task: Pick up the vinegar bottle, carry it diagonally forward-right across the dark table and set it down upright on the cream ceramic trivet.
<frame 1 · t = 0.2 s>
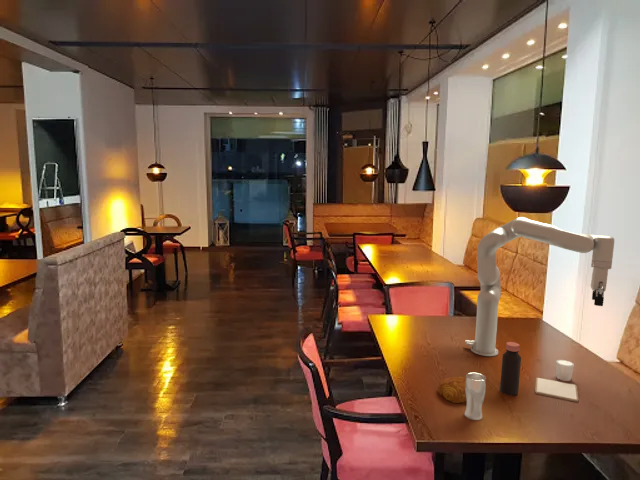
hand: (597, 302, 205), 31 cm above the table, fingers open, 9 cm apart
trivet: (556, 389, 190), on the table
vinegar: (508, 392, 188), on the table
short white cylinder: (563, 378, 202), on the table
croissant: (457, 395, 185), on the table
beer glass: (473, 416, 169), on the table
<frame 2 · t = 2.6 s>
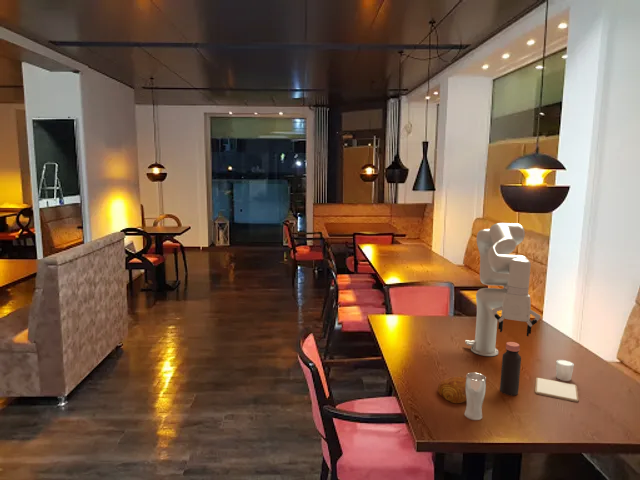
hand: (514, 333, 184), 24 cm above the table, fingers open, 9 cm apart
nothing on the table moved.
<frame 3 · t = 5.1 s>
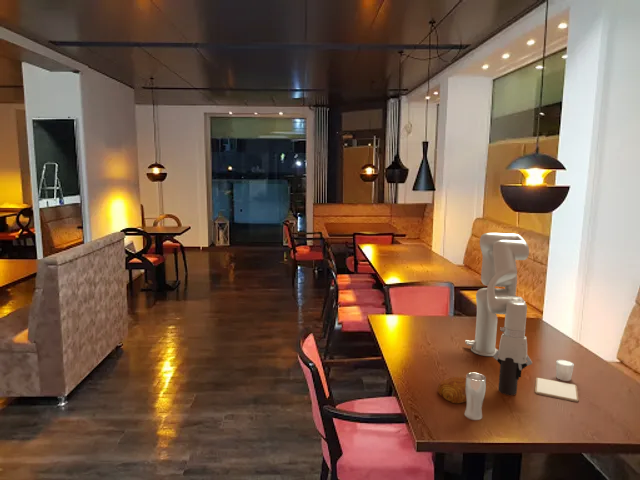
hand: (510, 376, 186), 7 cm above the table, fingers open, 4 cm apart
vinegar: (507, 392, 188), on the table, touching gripper
everything else where it was.
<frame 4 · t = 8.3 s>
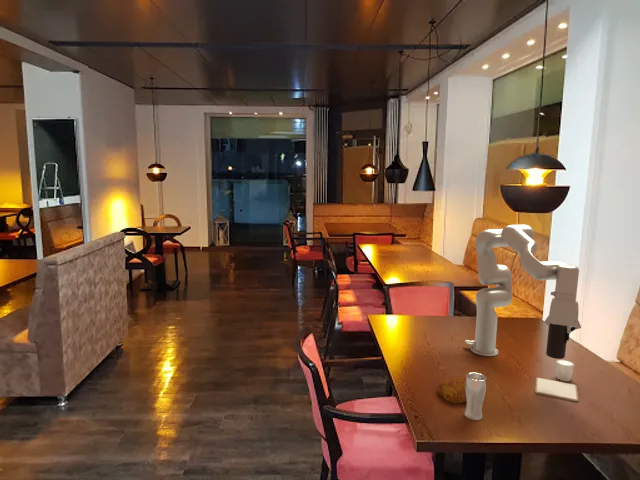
hand: (560, 340, 187), 21 cm above the table, fingers closed on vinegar, 2 cm apart
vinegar: (555, 356, 190), point 14 cm above the table, touching gripper
everything else where it was.
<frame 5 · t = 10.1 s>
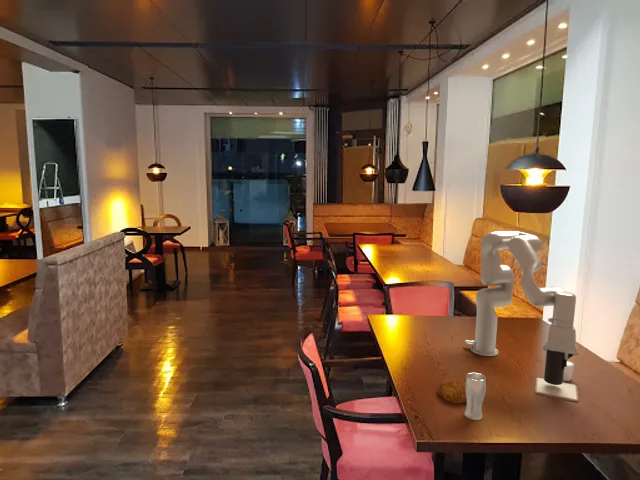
hand: (558, 366, 189), 10 cm above the table, fingers closed on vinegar, 2 cm apart
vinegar: (553, 382, 191), point 3 cm above the table, touching gripper
everything else where it was.
when the fingers open (8 cm above the table, at t = 11.2 s): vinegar stays where it is, resting on trivet.
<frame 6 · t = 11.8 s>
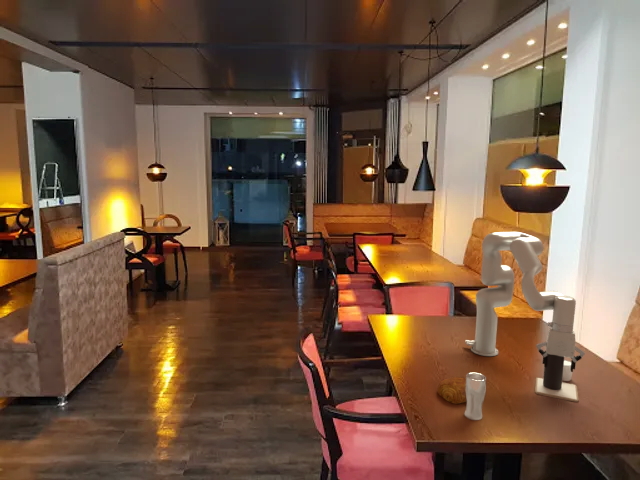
hand: (558, 368, 189), 9 cm above the table, fingers open, 9 cm apart
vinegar: (552, 387, 191), point 1 cm above the table, touching trivet
everything else where it was.
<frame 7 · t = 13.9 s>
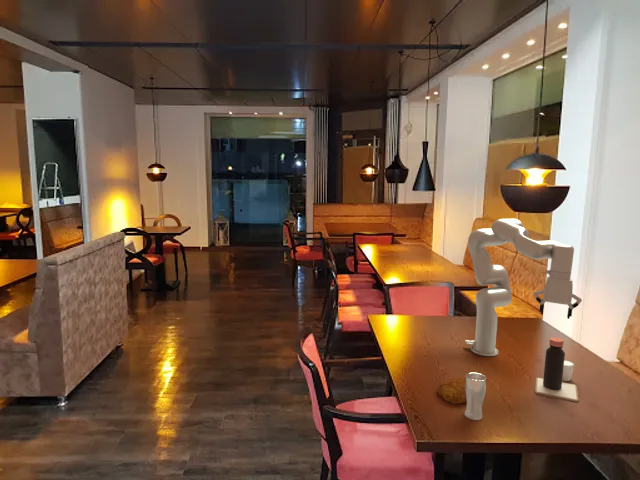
hand: (555, 315, 192), 29 cm above the table, fingers open, 9 cm apart
nothing on the table moved.
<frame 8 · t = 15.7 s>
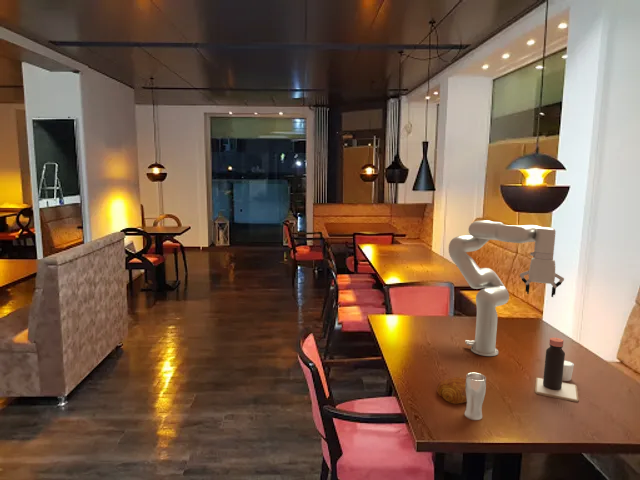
hand: (539, 294, 204), 34 cm above the table, fingers open, 9 cm apart
nothing on the table moved.
at the end: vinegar inside the target area on the trivet (1.6 cm from its centre), point 0.6 cm above the trivet's base; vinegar tilted 0°; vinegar touching trivet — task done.
